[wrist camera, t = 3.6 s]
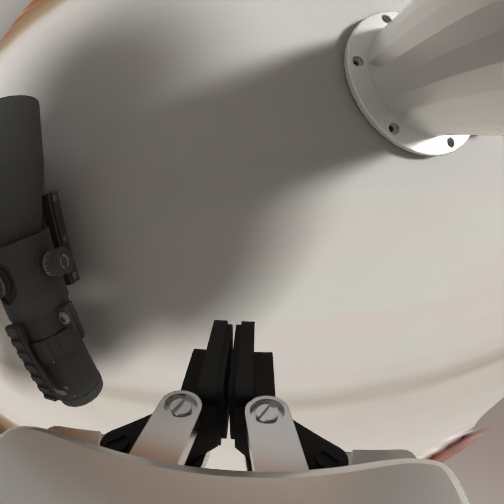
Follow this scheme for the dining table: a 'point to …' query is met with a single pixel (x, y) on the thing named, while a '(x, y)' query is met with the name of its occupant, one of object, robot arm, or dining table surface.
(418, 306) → the dining table surface
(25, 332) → the rifle scope
